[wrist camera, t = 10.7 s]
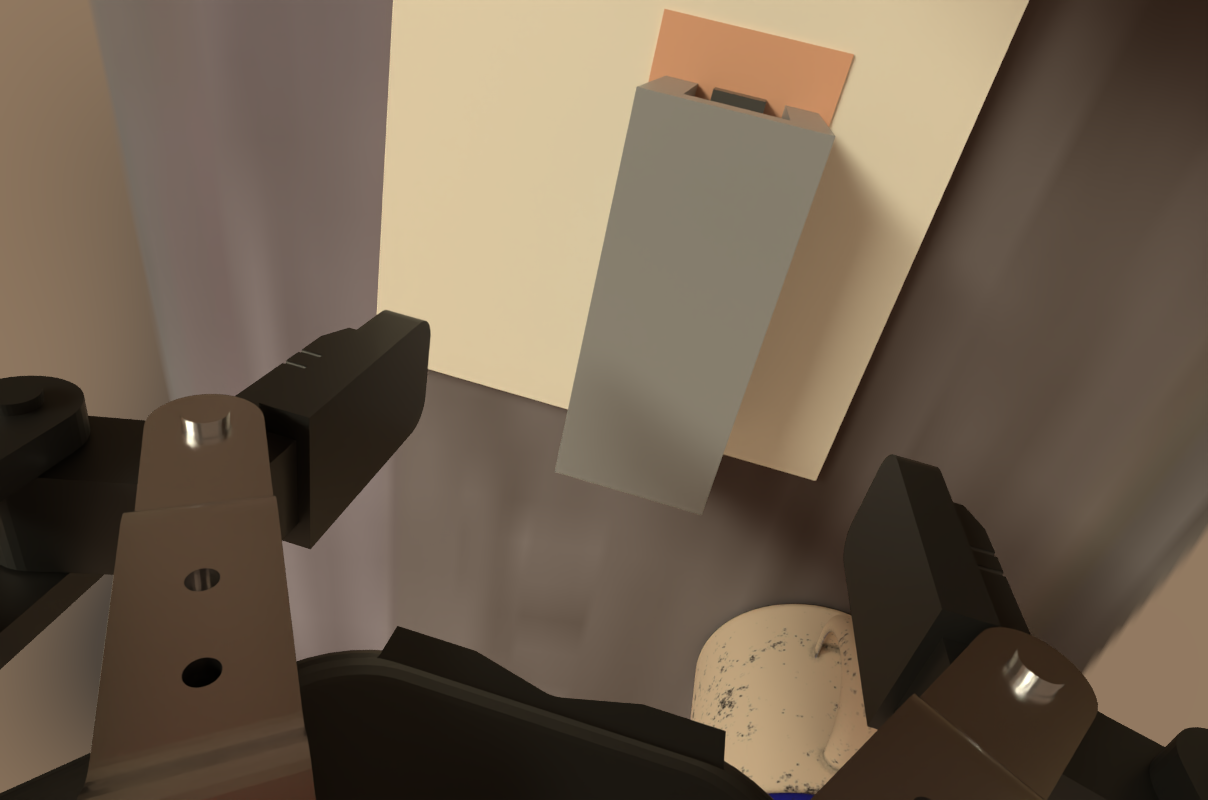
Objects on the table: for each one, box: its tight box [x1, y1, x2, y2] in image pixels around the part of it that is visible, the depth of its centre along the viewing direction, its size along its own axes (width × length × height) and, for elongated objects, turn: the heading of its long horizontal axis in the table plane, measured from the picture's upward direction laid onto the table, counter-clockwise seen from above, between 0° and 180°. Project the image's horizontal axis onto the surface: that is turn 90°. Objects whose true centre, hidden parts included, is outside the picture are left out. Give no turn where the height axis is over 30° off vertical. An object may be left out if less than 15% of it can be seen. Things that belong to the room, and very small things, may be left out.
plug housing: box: [555, 76, 835, 515], centre depth 19 cm, size 10×4×5 cm, turn 168°
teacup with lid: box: [691, 604, 877, 800], centre depth 23 cm, size 12×9×12 cm
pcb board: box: [377, 0, 1029, 481], centre depth 20 cm, size 20×16×1 cm
